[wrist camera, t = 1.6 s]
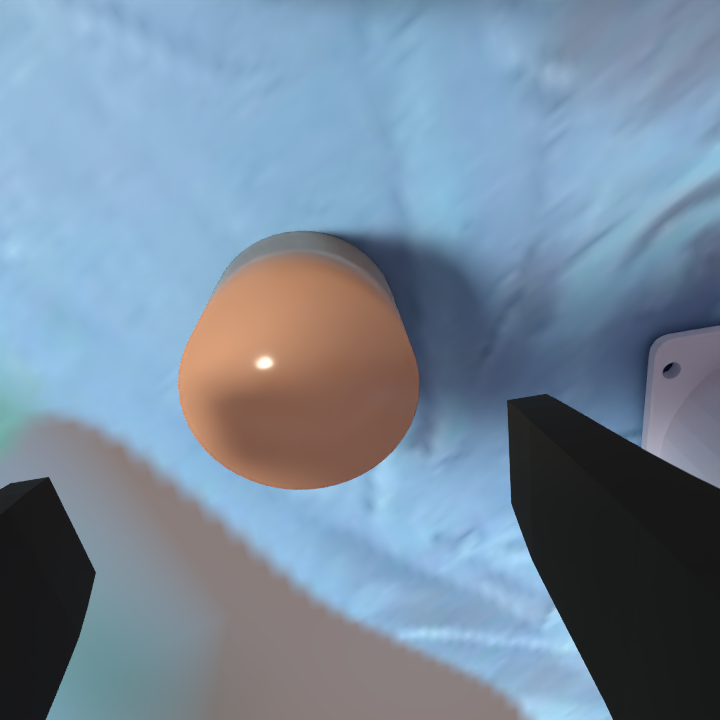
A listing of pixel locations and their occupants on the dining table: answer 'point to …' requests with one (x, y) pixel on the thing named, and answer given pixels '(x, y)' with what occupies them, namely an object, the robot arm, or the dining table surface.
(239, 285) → the tan rounded cylinder
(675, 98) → the dining table surface
